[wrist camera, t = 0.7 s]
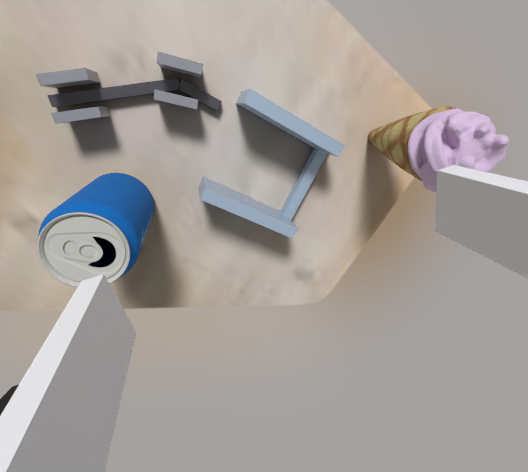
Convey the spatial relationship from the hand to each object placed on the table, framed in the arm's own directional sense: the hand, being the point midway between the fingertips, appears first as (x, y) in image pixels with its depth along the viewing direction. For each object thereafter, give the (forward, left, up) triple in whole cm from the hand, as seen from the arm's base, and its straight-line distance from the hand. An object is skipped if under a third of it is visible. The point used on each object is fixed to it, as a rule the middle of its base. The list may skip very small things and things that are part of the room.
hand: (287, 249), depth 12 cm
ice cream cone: (+14, +9, -23) cm, 28 cm away
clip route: (-10, +2, -22) cm, 24 cm away
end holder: (+3, +1, -22) cm, 23 cm away
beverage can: (-8, -9, -23) cm, 26 cm away
